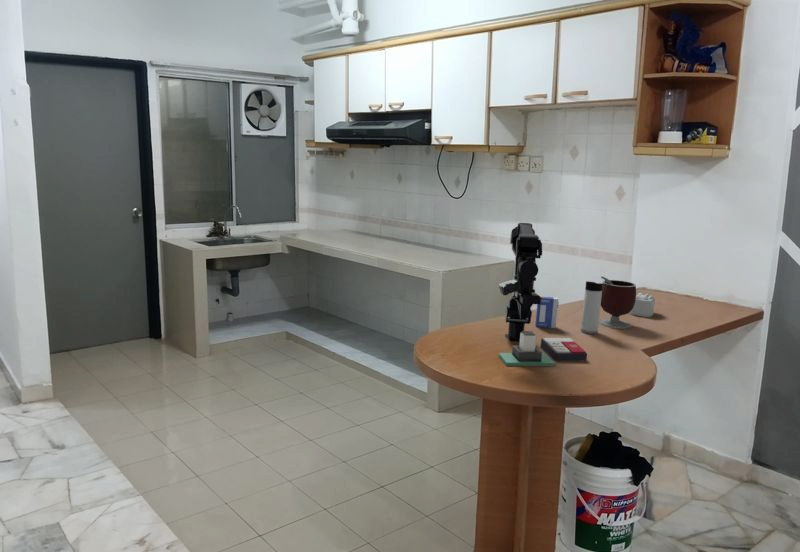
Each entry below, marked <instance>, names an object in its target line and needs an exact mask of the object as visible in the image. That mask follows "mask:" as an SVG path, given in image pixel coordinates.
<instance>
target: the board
mask: <svg viewBox="0 0 800 552" xmlns="http://www.w3.org/2000/svg"><path fill="white" fill-rule="evenodd" d="M498 357H499V359H500V360H501V361H502V362H503V363H504V365H505V366H506V367H507V366H509V367H510V366H513V367H515V366H517V367H519V366H521V367H525V366H526V367H527V366H528V367H529V366H530V367H555V366H556V362H555V360H553V359H552V358H551V357H550V356H549V355H548V354H547V353H546V352H545V353H544V352H542V351H541V350H540V349H539V348H538V347H537V346H536V347H535V352H521V351H520V350H519V345H512V352H498Z"/></svg>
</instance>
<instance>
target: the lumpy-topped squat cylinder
mask: <svg viewBox="0 0 800 552" xmlns="http://www.w3.org/2000/svg"><path fill="white" fill-rule="evenodd" d="M655 303H656V298H655V296H654V295H650V293H646V294H645V293H643V292H639V293H636V300H635V304H634V307H633V309H632V310H631V311H630V312H629V313H628V314H627V315H630V316H636V315H637V317H641V316H642V317H643V318H650V317H653V315H654V313H655V312H654V311H655V305H656V304H655Z"/></svg>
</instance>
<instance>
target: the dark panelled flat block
mask: <svg viewBox="0 0 800 552" xmlns="http://www.w3.org/2000/svg"><path fill="white" fill-rule="evenodd" d="M540 349H541V350H542V351H544V352H545V354H546V355H547V356H548V357H549V358H550V359H552V360H553V361H554V362H555V361H556V362H587V358H588V353H587V352H586V351H585V350H584V349H583V348H582V347H581V346H580V345H579V344H578V343H577V342H576V341H574V340H573V339H572V338H571V337H543V338H542V337H541V339H540Z"/></svg>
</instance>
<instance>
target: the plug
mask: <svg viewBox="0 0 800 552" xmlns="http://www.w3.org/2000/svg"><path fill="white" fill-rule="evenodd" d="M537 337H538V335H537V334H536V333H534V332H533V331H532V330H531V331H530V330H528V331H527V330H524V331H522V332H520V340H519V344H518V346H519V350H520V351H521V352H535V347H537V339H538V338H537Z"/></svg>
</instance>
